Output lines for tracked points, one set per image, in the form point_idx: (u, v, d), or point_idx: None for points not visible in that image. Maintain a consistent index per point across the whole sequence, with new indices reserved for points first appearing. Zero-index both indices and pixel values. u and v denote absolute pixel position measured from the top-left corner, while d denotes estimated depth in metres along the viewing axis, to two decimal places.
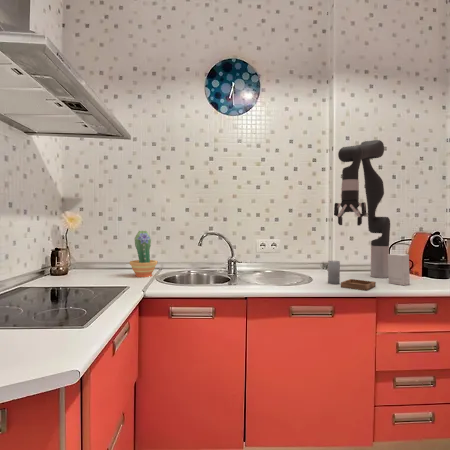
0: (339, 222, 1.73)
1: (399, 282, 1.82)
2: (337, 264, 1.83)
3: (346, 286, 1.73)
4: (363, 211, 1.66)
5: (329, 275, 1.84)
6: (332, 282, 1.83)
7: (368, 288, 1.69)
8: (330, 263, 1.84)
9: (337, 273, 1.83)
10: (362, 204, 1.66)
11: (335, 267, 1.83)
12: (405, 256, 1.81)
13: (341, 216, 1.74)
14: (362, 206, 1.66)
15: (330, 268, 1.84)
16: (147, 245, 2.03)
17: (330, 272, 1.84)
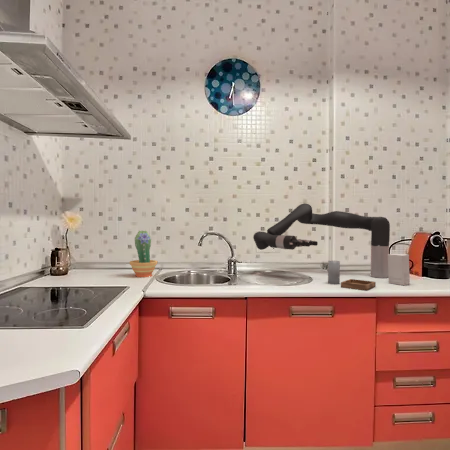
0: (315, 245, 1.96)
1: (399, 282, 1.82)
2: (337, 264, 1.83)
3: (346, 286, 1.73)
4: (296, 246, 1.91)
5: (329, 275, 1.84)
6: (332, 282, 1.83)
7: (368, 288, 1.69)
8: (330, 263, 1.84)
9: (337, 273, 1.83)
10: (291, 245, 1.93)
11: (335, 267, 1.83)
12: (405, 256, 1.81)
13: (310, 242, 1.98)
14: (292, 245, 1.93)
15: (330, 268, 1.84)
16: (147, 245, 2.03)
17: (330, 272, 1.84)
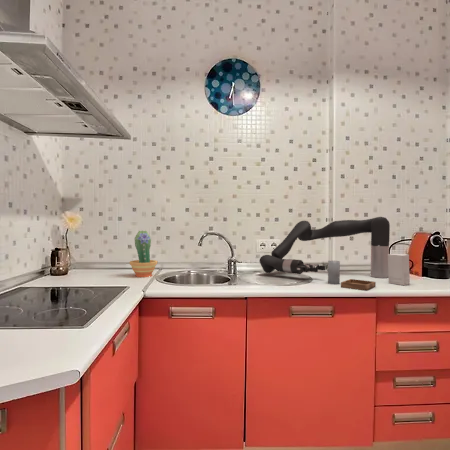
0: None
1: (399, 282, 1.82)
2: (337, 264, 1.83)
3: (346, 286, 1.73)
4: (304, 271, 1.89)
5: (329, 275, 1.84)
6: (332, 282, 1.83)
7: (368, 288, 1.69)
8: (330, 263, 1.84)
9: (337, 273, 1.83)
10: (298, 271, 1.91)
11: (335, 267, 1.83)
12: (405, 256, 1.81)
13: (317, 266, 1.95)
14: (300, 271, 1.90)
15: (330, 268, 1.84)
16: (147, 245, 2.03)
17: (330, 272, 1.84)
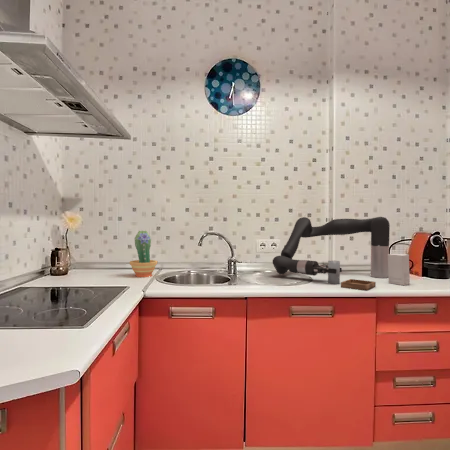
0: None
1: (399, 282, 1.82)
2: (337, 264, 1.83)
3: (346, 286, 1.73)
4: None
5: (329, 275, 1.84)
6: (332, 282, 1.83)
7: (368, 288, 1.69)
8: (330, 263, 1.84)
9: (337, 273, 1.83)
10: None
11: (335, 267, 1.83)
12: (405, 256, 1.81)
13: None
14: (317, 272, 1.85)
15: None
16: (147, 245, 2.03)
17: None
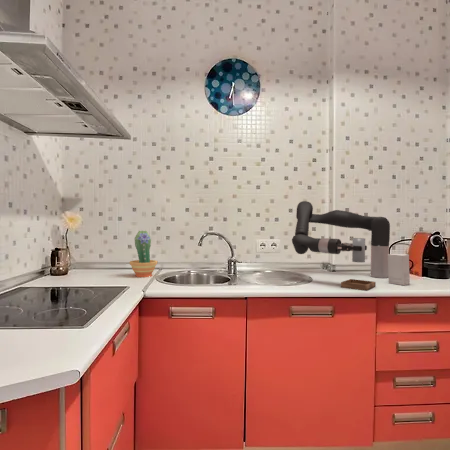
0: None
1: (399, 282, 1.82)
2: (362, 241, 1.73)
3: (346, 286, 1.73)
4: (346, 250, 1.73)
5: (354, 253, 1.74)
6: (357, 260, 1.73)
7: (368, 288, 1.69)
8: (355, 240, 1.74)
9: (362, 251, 1.73)
10: (339, 250, 1.75)
11: (360, 244, 1.72)
12: (405, 256, 1.81)
13: None
14: None
15: (355, 245, 1.74)
16: (147, 245, 2.03)
17: None
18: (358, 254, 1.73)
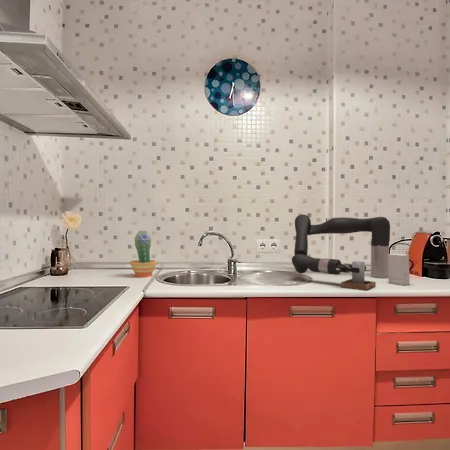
0: None
1: (399, 282, 1.82)
2: (362, 265, 1.73)
3: (346, 286, 1.73)
4: None
5: (353, 277, 1.75)
6: None
7: (368, 288, 1.69)
8: (354, 264, 1.74)
9: (362, 274, 1.73)
10: (337, 271, 1.76)
11: (360, 268, 1.73)
12: (405, 256, 1.81)
13: None
14: (339, 271, 1.75)
15: None
16: (147, 245, 2.03)
17: (354, 273, 1.74)
18: (358, 278, 1.73)
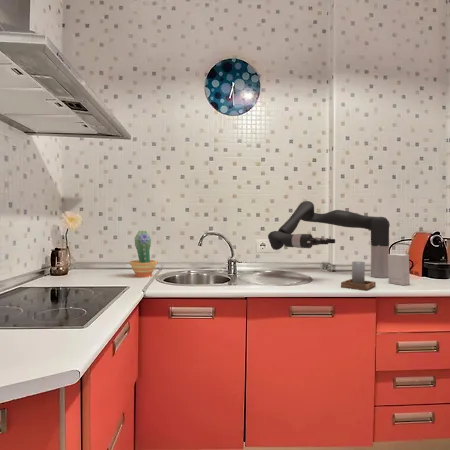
0: None
1: (399, 282, 1.82)
2: (362, 265, 1.73)
3: (346, 286, 1.73)
4: (314, 244, 1.86)
5: (353, 277, 1.75)
6: None
7: (368, 288, 1.69)
8: (355, 264, 1.74)
9: (362, 275, 1.73)
10: (308, 244, 1.89)
11: (360, 268, 1.73)
12: (405, 256, 1.81)
13: (327, 240, 1.93)
14: None
15: (354, 269, 1.74)
16: (147, 245, 2.03)
17: (354, 273, 1.74)
18: (358, 278, 1.73)
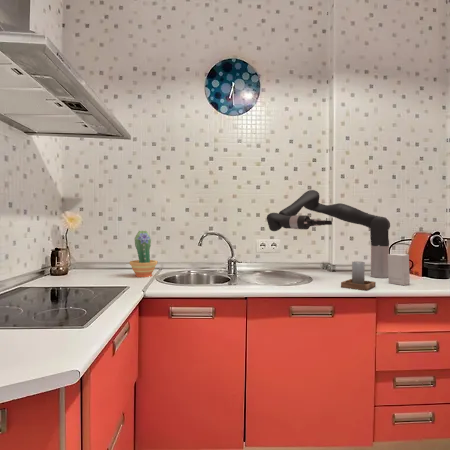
0: (329, 224, 1.95)
1: (399, 282, 1.82)
2: (362, 265, 1.73)
3: (346, 286, 1.73)
4: (310, 225, 1.90)
5: (353, 277, 1.75)
6: None
7: (368, 288, 1.69)
8: (354, 264, 1.74)
9: (362, 275, 1.73)
10: (305, 225, 1.92)
11: (360, 268, 1.73)
12: (405, 256, 1.81)
13: None
14: (307, 225, 1.92)
15: (354, 269, 1.74)
16: (147, 245, 2.03)
17: (354, 274, 1.74)
18: (358, 278, 1.73)
